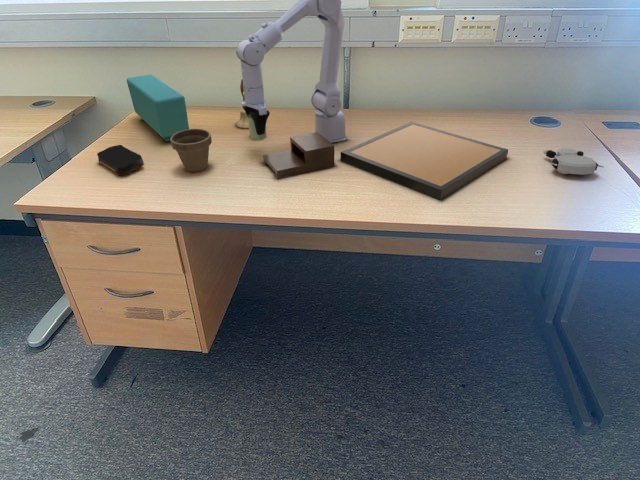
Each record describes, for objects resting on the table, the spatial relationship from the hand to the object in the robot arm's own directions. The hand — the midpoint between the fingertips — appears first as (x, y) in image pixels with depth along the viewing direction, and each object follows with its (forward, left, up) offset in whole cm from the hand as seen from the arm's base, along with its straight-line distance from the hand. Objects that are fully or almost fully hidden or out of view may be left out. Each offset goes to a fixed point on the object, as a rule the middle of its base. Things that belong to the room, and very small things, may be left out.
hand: (257, 131), depth 139 cm
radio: (+24, -38, -8) cm, 45 cm away
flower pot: (+20, +1, -8) cm, 22 cm away
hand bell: (-5, -27, -8) cm, 29 cm away
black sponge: (+40, -11, -8) cm, 42 cm away
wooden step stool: (-8, +13, -8) cm, 17 cm away
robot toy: (-76, +51, -8) cm, 91 cm away
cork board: (-43, +27, -8) cm, 51 cm away
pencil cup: (0, 0, -2) cm, 2 cm away
